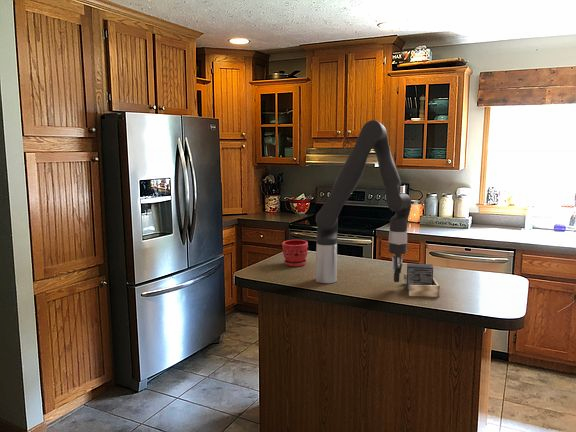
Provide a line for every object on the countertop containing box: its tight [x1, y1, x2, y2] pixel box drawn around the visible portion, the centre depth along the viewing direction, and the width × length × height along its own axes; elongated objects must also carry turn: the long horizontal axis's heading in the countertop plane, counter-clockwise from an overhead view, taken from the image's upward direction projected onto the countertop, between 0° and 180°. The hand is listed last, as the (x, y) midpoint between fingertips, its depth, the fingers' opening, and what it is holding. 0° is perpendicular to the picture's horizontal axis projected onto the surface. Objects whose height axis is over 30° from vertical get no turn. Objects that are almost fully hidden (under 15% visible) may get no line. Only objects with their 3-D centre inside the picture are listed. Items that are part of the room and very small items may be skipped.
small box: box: [406, 263, 434, 292], centre depth 196 cm, size 11×6×10 cm, turn 77°
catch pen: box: [403, 273, 441, 298], centre depth 196 cm, size 12×17×4 cm
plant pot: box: [281, 239, 309, 267], centre depth 239 cm, size 13×13×12 cm
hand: (396, 281), depth 197 cm, fingers closed
